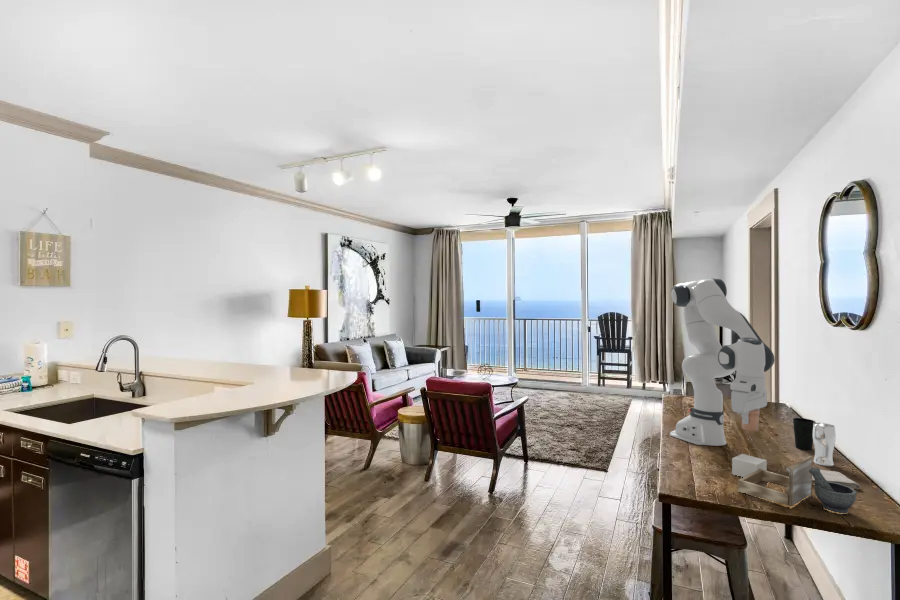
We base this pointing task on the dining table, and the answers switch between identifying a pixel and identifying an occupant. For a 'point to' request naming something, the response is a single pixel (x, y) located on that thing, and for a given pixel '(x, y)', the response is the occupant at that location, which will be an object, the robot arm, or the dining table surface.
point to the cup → (803, 433)
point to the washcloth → (835, 478)
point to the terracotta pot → (752, 421)
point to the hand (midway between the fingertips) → (750, 422)
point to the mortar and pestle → (833, 493)
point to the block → (747, 465)
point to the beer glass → (823, 443)
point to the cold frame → (780, 483)
